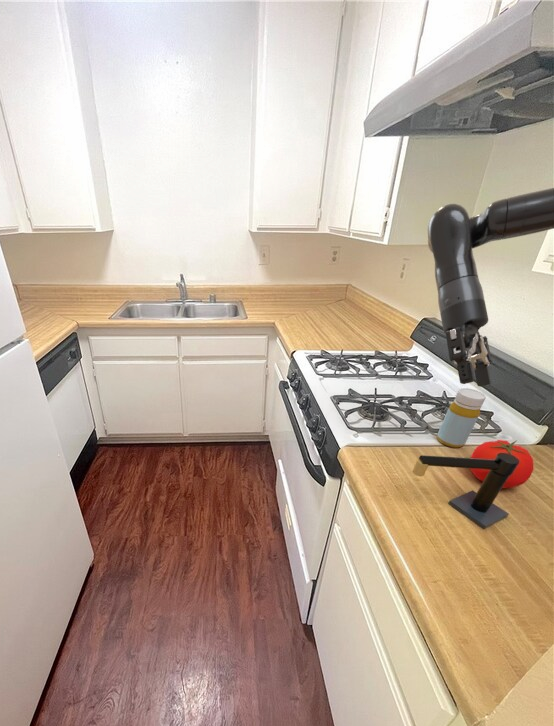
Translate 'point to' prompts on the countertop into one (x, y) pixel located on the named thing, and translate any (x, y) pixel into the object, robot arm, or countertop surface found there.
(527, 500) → the countertop surface
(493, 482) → the faucet base
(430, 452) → the countertop surface
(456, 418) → the bottle
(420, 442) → the countertop surface
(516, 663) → the countertop surface
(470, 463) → the spout
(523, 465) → the tomato
